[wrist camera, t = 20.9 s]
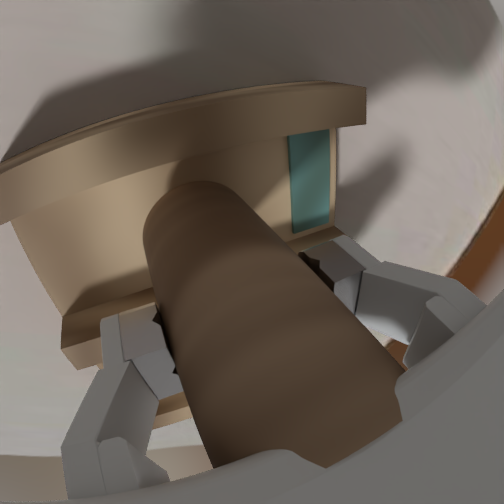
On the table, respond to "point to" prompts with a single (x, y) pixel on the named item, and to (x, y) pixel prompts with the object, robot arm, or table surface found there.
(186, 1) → the table surface
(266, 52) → the table surface
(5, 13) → the table surface
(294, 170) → the rack
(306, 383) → the dowel
